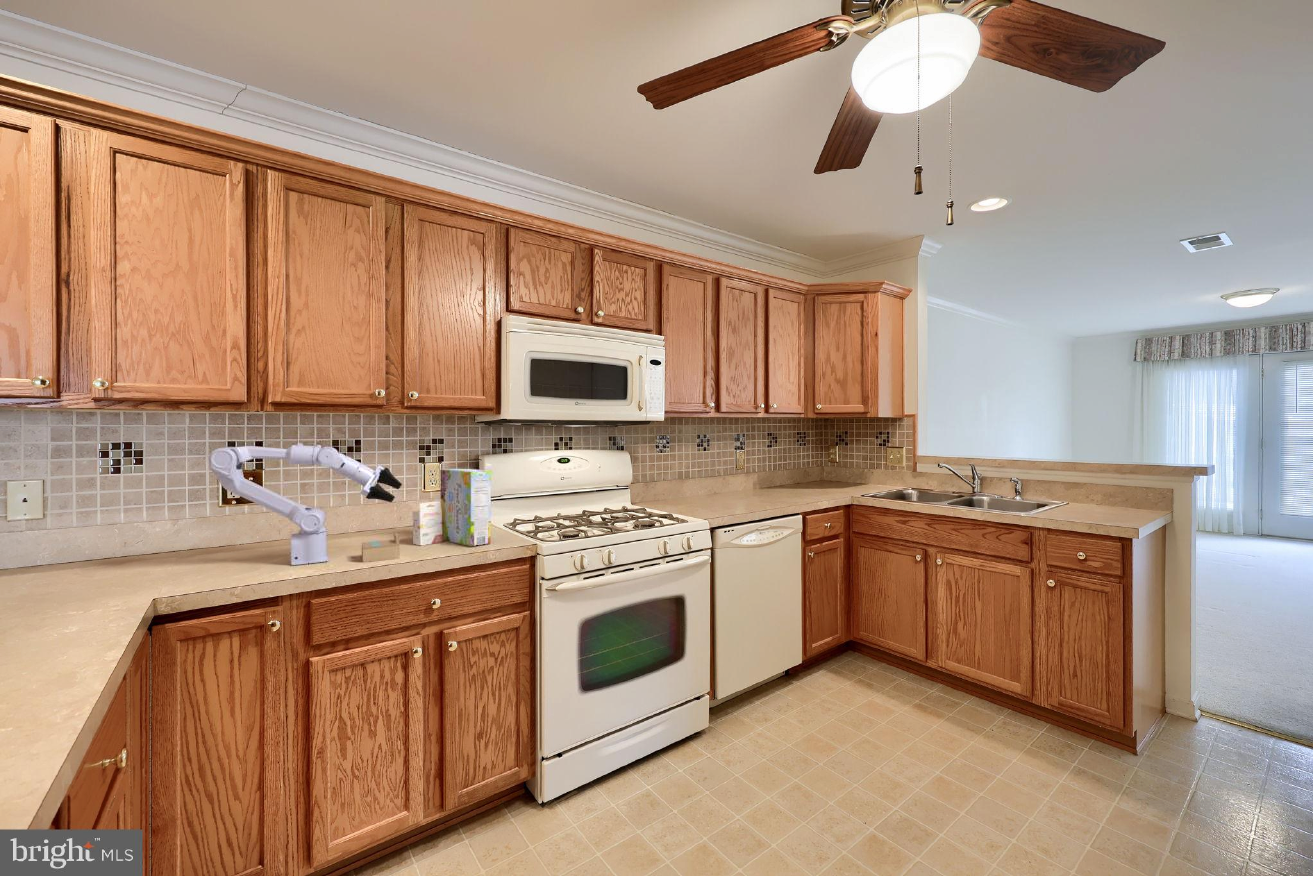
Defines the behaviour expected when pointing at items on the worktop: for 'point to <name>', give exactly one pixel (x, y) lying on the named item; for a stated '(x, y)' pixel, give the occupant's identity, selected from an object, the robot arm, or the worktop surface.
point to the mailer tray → (380, 553)
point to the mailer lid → (382, 543)
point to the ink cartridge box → (427, 524)
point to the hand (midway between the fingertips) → (396, 493)
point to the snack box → (466, 506)
